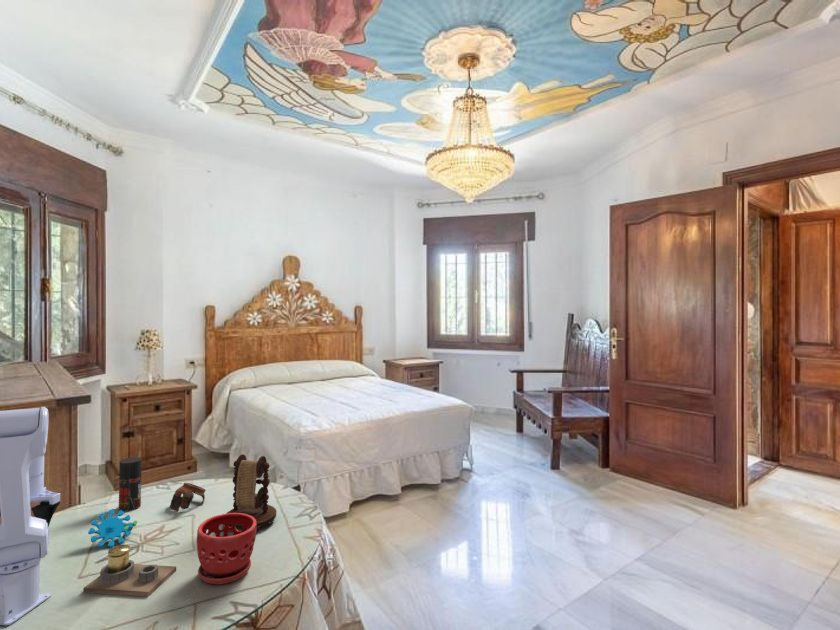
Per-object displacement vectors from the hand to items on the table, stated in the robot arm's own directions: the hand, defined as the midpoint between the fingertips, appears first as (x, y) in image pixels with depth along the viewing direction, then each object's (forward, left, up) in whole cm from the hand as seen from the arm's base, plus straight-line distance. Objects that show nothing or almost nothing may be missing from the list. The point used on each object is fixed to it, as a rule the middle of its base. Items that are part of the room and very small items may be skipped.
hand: (27, 532), depth 106 cm
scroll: (+30, -41, -10) cm, 52 cm away
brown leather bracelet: (+38, -16, -10) cm, 43 cm away
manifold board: (-1, -27, -9) cm, 29 cm away
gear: (+16, -9, -10) cm, 21 cm away
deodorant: (+36, +1, -10) cm, 37 cm away
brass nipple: (-1, -23, -8) cm, 25 cm away
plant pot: (+4, -47, -10) cm, 48 cm away
